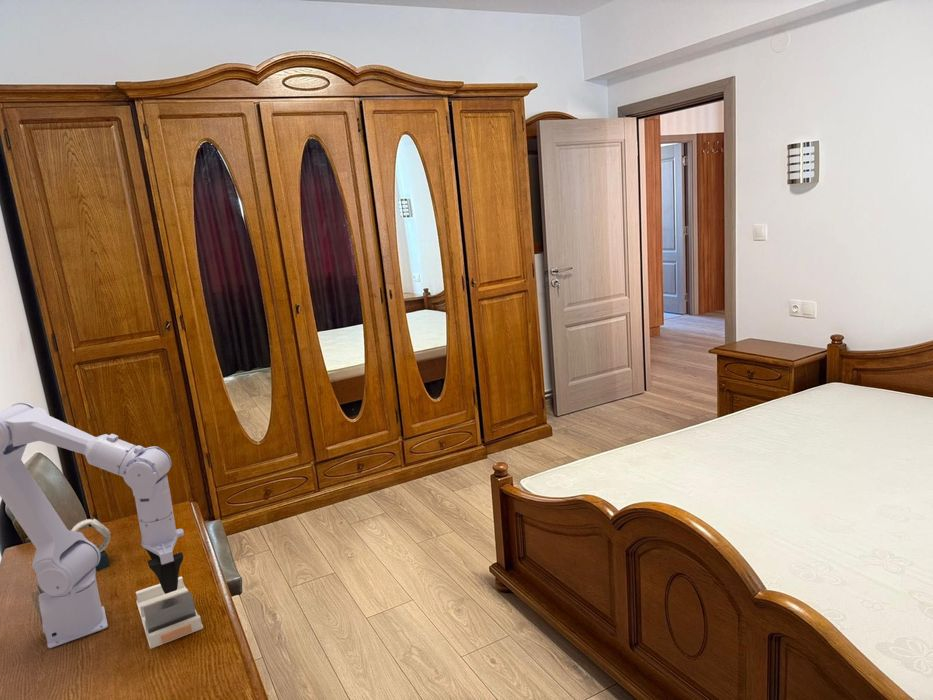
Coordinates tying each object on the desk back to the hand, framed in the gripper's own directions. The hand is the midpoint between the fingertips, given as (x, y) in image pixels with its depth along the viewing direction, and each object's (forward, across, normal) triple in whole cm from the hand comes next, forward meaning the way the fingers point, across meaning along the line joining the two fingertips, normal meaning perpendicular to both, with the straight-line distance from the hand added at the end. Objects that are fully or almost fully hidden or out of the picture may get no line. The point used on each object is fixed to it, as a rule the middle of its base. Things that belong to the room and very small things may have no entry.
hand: (167, 581), depth 115 cm
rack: (+8, +3, 0) cm, 9 cm away
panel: (+8, -2, +1) cm, 8 cm away
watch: (+9, +34, +11) cm, 37 cm away
